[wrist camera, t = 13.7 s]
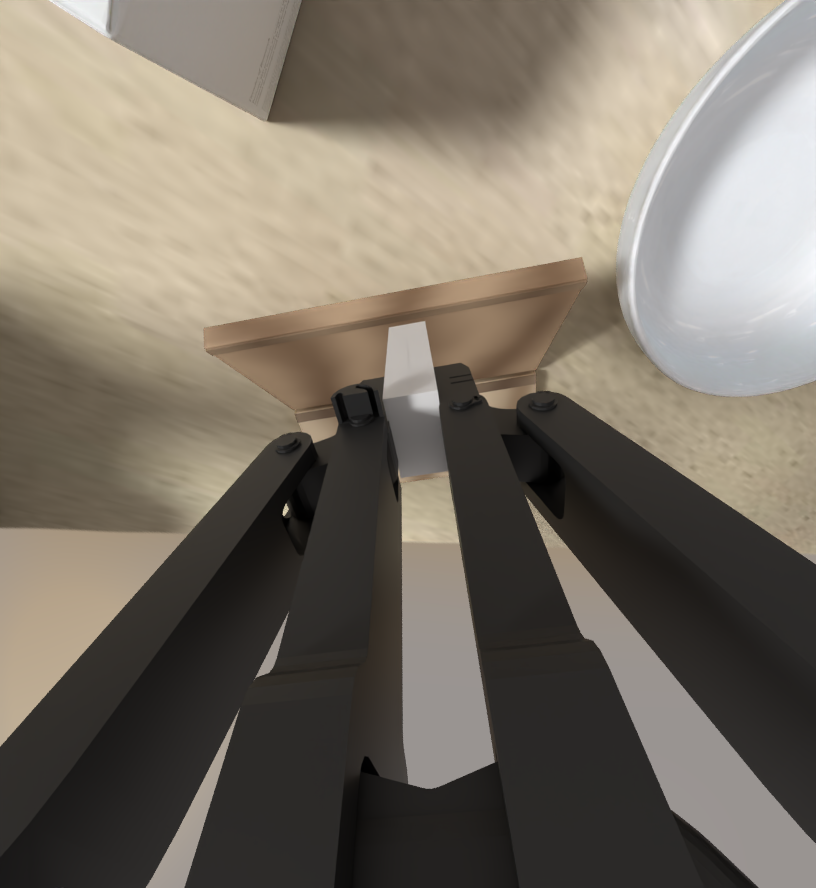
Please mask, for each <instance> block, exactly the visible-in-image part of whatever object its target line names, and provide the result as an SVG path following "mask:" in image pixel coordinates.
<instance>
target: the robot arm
mask: <svg viewBox="0 0 816 888" xmlns="http://www.w3.org/2000/svg"><path fill="white" fill-rule="evenodd" d="M331 402H332V405H333V408H334V411H335V414H336V418H337V421H338V428H337V432H336V435H334V436H332V437H329V438H327V439H324V440H321V441H318V442H315V443H313V440H312V438H311V435H309V434H307V433H303V432H296V433H287V434H286V435H285V434H284V435H282V436H280V437H279V438H277V439H275V440H273V441H272V442H271V443H270V444H269V445H267V446H266V447H265V449H264V450H263V451H262V452H261V453H260V454H259V455H258V457H257V458H256V459H255V460H254V461H253V462H252V463H251V464H250V466H249V467H248V468H247V469H246V470H245V471H244V472H243V473H242V475H241V476H240V477H239V478H238V479H237V480H236V481H235V482H234V484H233V485H232V486H231V487H230V488H229V489H228V490H227V491H226V493H225V494H224V495H223V496H222V497H221V498H220V499H219V501H218V502H217V503H216V504H215V505H214V506H213V507H212V508H211V510H210V511H209V512H208V513H207V514H206V515H205V516H204V517H203V519H202V520H201V521H200V522H199V523H198V524H197V525H196V526H195V528H194V529H193V530H192V531H191V532H190V533H189V534H188V536H187V537H186V538H185V539H184V540H183V541H182V542H181V543H180V545H179V546H178V547H177V548H176V549H175V550H174V551H173V552H172V554H171V555H170V556H169V557H168V558H167V559H166V560H165V561H164V563H163V564H162V565H161V566H160V567H159V568H158V569H157V571H156V572H155V573H154V574H153V575H152V576H151V577H150V578H149V580H148V581H147V582H146V583H145V584H144V585H143V586H142V587H141V589H140V590H139V591H138V592H137V593H136V594H135V595H134V596H133V598H132V599H131V600H130V601H129V602H128V603H127V604H126V605H125V607H124V608H123V609H122V610H121V611H120V612H119V613H118V615H117V616H116V617H115V618H114V619H113V620H112V621H111V622H110V624H109V625H108V626H107V627H106V628H105V629H104V630H103V631H102V633H101V634H100V635H99V636H98V637H97V639H95V640H94V642H93V643H92V644H91V645H90V646H89V648H87V650H86V651H85V652H84V653H83V654H82V655H81V656H80V657H79V659H78V660H77V661H76V662H75V663H74V664H73V665H72V666H71V668H70V669H69V670H68V671H67V672H66V673H65V674H64V676H63V677H62V678H61V679H60V680H59V681H58V682H57V683H56V685H55V686H54V687H53V688H52V689H51V690H50V691H49V693H47V695H46V696H45V697H44V698H43V699H42V700H41V701H40V703H39V704H38V705H37V706H36V707H35V708H34V709H33V710H32V712H31V713H30V714H29V715H28V716H27V717H26V718H25V720H24V721H23V722H22V723H21V724H20V725H19V726H18V727H17V728H16V730H15V731H14V732H13V733H12V734H11V735H10V736H9V737H8V739H7V740H6V741H5V742H4V743H3V744H2V745H1V747H0V888H146V886H147V884H148V883H149V881H150V880H151V878H152V877H153V875H154V873H155V871H156V869H157V867H158V865H159V864H160V862H161V860H162V858H163V856H164V854H165V853H166V851H167V849H168V847H169V845H170V844H171V842H172V840H173V838H174V836H175V834H176V833H177V831H178V829H179V827H180V825H181V823H182V821H183V819H184V817H185V815H186V813H187V811H188V809H189V807H190V805H191V803H192V801H193V799H194V797H195V795H196V793H197V791H198V789H199V787H200V785H201V783H202V782H203V779H204V778H205V775H206V774H207V772H208V770H209V768H210V765H211V764H212V762H213V760H214V758H215V756H216V754H217V752H218V750H219V748H220V746H221V744H222V742H223V740H224V738H225V736H226V734H227V732H228V730H229V728H230V726H231V724H232V722H233V720H234V718H235V716H236V715H237V713H238V711H239V713H238V717H237V720H236V723H235V726H234V730H233V733H232V736H231V739H230V743H229V746H228V749H227V752H226V755H225V759H224V762H223V765H222V769H221V772H220V775H219V778H218V782H217V785H216V788H215V791H214V795H213V798H212V801H211V804H210V808H209V810H208V814H207V817H206V820H205V823H204V827H203V831H202V833H201V836H200V840H199V843H198V846H197V849H196V853H195V856H194V859H193V862H192V866H191V869H190V872H189V875H188V878H187V882H186V885H185V888H758V887H757V886H756V885H755V884H754V883H753V882H752V881H751V880H750V879H749V878H748V877H747V876H745V874H744V873H742V872H741V871H740V870H739V869H738V868H737V867H736V866H735V865H734V864H733V863H732V862H731V861H730V860H729V859H728V858H727V857H726V856H725V855H724V854H723V853H722V852H720V851H719V850H718V849H717V848H716V847H715V846H714V845H713V844H712V843H711V842H710V841H709V840H708V839H706V838H705V837H704V836H703V835H702V834H701V833H700V832H699V831H697V830H696V829H695V828H693V827H692V826H691V825H690V824H689V823H687V822H686V821H685V820H684V819H682V818H681V817H680V816H678V815H677V814H676V813H674V812H673V811H672V810H670V808H669V805H668V803H667V801H666V798H665V796H664V794H663V791H662V789H661V787H660V784H659V782H658V780H657V778H656V775H655V773H654V771H653V768H652V766H651V764H650V761H649V759H648V757H647V754H646V752H645V750H644V747H643V745H642V743H641V740H640V738H639V736H638V733H637V731H636V729H635V727H634V724H633V722H632V720H631V717H630V715H629V713H628V710H627V708H626V706H625V703H624V701H623V699H622V696H621V694H620V692H619V690H618V688H617V685H616V683H615V680H614V678H613V676H612V673H611V671H610V669H609V667H608V665H607V663H606V661H605V659H604V657H603V655H602V653H601V651H600V649H599V648H598V647H597V646H596V644H595V643H594V641H592V640H589V639H585V638H584V637H583V635H582V634H581V633H580V630H579V628H578V627H577V624H576V622H575V619H574V617H573V614H572V612H571V609H570V607H569V604H568V602H567V599H566V597H565V594H564V592H563V589H562V587H561V584H560V582H559V579H558V577H557V574H556V572H555V569H554V567H553V564H552V562H551V559H550V557H549V554H548V552H547V549H546V547H545V544H544V542H543V539H542V537H541V534H540V532H539V529H538V527H537V524H536V522H535V519H534V517H533V514H532V512H531V509H530V507H529V504H528V502H527V499H526V497H525V495H526V496H527V498H528V499H529V500H530V501H531V503H532V504H533V505H534V506H535V507H536V509H537V510H538V511H539V512H540V514H541V515H542V516H543V517H544V518H545V520H546V521H547V522H548V523H549V524H550V526H551V527H552V528H553V529H554V531H555V532H556V533H557V534H558V535H559V537H560V538H561V539H562V540H563V541H564V543H565V544H566V545H567V546H568V548H569V549H570V550H571V551H572V552H573V554H574V555H575V556H576V557H577V558H578V560H579V561H580V562H581V563H582V565H583V566H584V567H585V568H586V569H587V571H588V572H589V573H590V574H591V576H592V577H593V578H594V579H595V580H596V582H597V583H598V584H599V585H600V587H601V588H602V589H603V590H604V591H605V592H606V594H607V595H608V596H609V597H610V598H611V600H612V601H613V602H614V604H615V605H616V606H617V607H618V608H619V610H620V611H621V612H622V613H623V614H624V616H625V617H626V618H627V619H628V621H629V622H630V623H631V624H632V625H633V627H634V628H635V629H636V630H637V632H638V633H639V634H640V635H641V636H642V638H643V639H644V640H645V641H646V642H647V644H648V645H649V646H650V647H651V649H652V650H653V651H654V652H655V653H656V655H657V656H658V657H659V658H660V660H661V661H662V662H663V663H664V664H665V665H666V667H667V668H668V669H669V670H670V672H671V673H672V674H673V675H674V676H675V678H676V679H677V680H678V681H679V683H680V684H681V685H682V686H683V688H684V689H685V690H686V691H687V692H688V693H689V695H690V696H691V697H692V698H693V700H694V701H695V702H696V703H697V704H698V706H699V707H700V708H701V709H702V710H703V712H704V713H705V714H706V715H707V717H708V718H709V719H710V720H711V722H712V723H713V724H714V725H715V726H716V728H717V729H718V730H719V731H720V733H721V734H722V735H723V736H724V737H725V739H726V740H727V741H728V742H729V743H730V745H731V746H732V747H733V748H734V749H735V751H736V752H737V753H738V754H739V755H740V757H741V758H742V759H743V760H744V762H745V763H746V764H747V765H748V767H750V769H751V770H752V771H753V773H754V774H755V775H756V776H757V778H758V779H759V780H760V781H761V782H762V784H763V785H764V786H765V787H766V788H767V789H768V791H769V792H770V793H771V794H772V795H773V796H774V797H775V799H776V800H777V801H778V802H779V803H780V804H781V805H782V806H783V808H784V809H785V810H786V811H787V812H788V813H789V814H790V816H791V817H792V818H793V819H794V820H795V821H796V822H797V824H798V825H799V826H800V827H801V828H802V829H803V830H804V832H805V833H806V834H807V835H808V836H809V837H810V838H811V839H812V840H813V841H814V842H815V843H816V564H814V563H813V562H811V561H810V560H808V559H807V558H805V557H804V556H802V555H801V554H799V553H798V552H797V551H795V550H794V549H792V548H791V547H789V546H788V545H786V544H785V543H783V542H782V541H780V540H779V539H777V538H776V537H774V536H773V535H771V534H770V533H768V532H767V531H765V530H764V529H762V528H761V527H759V526H758V525H756V524H755V523H753V522H752V521H750V520H749V519H747V518H746V517H745V516H743V515H742V514H740V513H739V512H737V511H736V510H734V509H733V508H731V507H730V506H728V505H727V504H725V503H724V502H722V501H721V500H719V499H718V498H716V497H715V496H713V495H712V494H710V493H709V492H707V491H706V490H704V489H703V488H701V487H700V486H698V485H697V484H695V483H694V482H693V481H691V480H690V479H688V478H687V477H685V476H684V475H682V474H681V473H679V472H678V471H676V470H675V469H673V468H672V467H670V466H669V465H667V464H666V463H664V462H663V461H661V460H660V459H658V458H657V457H655V456H654V455H652V454H651V453H649V452H648V451H646V450H645V449H643V448H642V447H641V446H639V445H638V444H636V443H635V442H633V441H632V440H630V439H629V438H627V437H626V436H624V435H623V434H621V433H620V432H618V431H617V430H615V429H614V428H612V427H611V426H609V425H608V424H606V423H605V422H603V421H602V420H600V419H599V418H597V417H596V416H594V415H593V414H591V413H590V412H589V411H587V410H586V409H584V408H583V407H581V406H580V405H578V404H577V403H575V402H574V401H572V400H571V399H569V398H568V397H566V396H564V395H562V394H559V393H554V392H550V391H544V392H543V391H538V392H535V393H530V394H527V395H525V396H523V397H521V398H520V399H519V400H518V401H517V405H516V409H500V408H495V407H491V406H489V404H488V402H487V400H486V398H485V397H484V396H482V395H480V394H479V392H478V390H477V387H476V384H475V382H474V380H473V377H472V374H471V371H470V369H469V367H468V366H466V365H464V364H462V363H456V364H450V365H444V366H438V367H433V362H432V357H431V351H430V346H429V340H428V335H427V329H426V324H425V321H422V322H417V323H411V324H406V325H400V326H394V327H389V332H388V343H387V354H386V366H385V377H380V378H374V379H368V380H363V381H362V382H361V383H360V384H354V385H350V386H346V387H344V388H342V389H339V390H338V391H337V392H335V393H334V394H333V395H332V396H331ZM398 468H399V472H400V476H401V478H405V477H411V476H418V475H425V474H432V473H439V472H445V471H448V473H449V480H450V487H451V494H452V500H453V505H454V511H455V517H456V523H457V530H458V536H459V542H460V548H461V554H462V560H463V567H464V573H465V578H466V584H467V591H468V598H469V604H470V609H471V616H472V622H473V628H474V634H475V641H476V647H477V653H478V659H479V665H480V672H481V678H482V684H483V690H484V696H485V702H486V709H487V715H488V721H489V727H490V734H491V740H492V746H493V753H494V760H495V763H493V764H490V765H488V766H486V767H484V768H481V769H479V770H477V771H474V772H472V773H470V774H468V775H465V776H463V777H461V778H459V779H456V780H454V781H452V782H449V783H447V784H445V785H443V786H440V787H437V788H433V789H425V788H420V787H417V786H413V785H409V784H408V777H407V767H406V760H405V754H404V747H403V725H402V724H403V711H402V710H403V707H402V505H401V485H400V480H399V476H398ZM285 504H287V506H288V508H289V510H288V512H287V513H286V515H285V516H283V515H282V514H283V509H284V506H285ZM288 612H289V614H288ZM287 614H288V618H287V622H286V626H285V629H284V633H283V637H282V641H281V644H280V649H279V652H278V656H277V659H276V662H275V665H274V667H273V669H272V670H271V671H270V673H268V674H265V675H262V676H259V677H257V678H256V679H255V677H256V675H257V673H258V671H259V669H260V667H261V665H262V663H263V661H264V659H265V657H266V655H267V653H268V651H269V649H270V647H271V645H272V644H273V641H274V640H275V638H276V636H277V634H278V632H279V630H280V628H281V626H282V624H283V622H284V620H285V618H286V616H287ZM254 679H255V680H254ZM239 709H240V710H239Z"/></svg>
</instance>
